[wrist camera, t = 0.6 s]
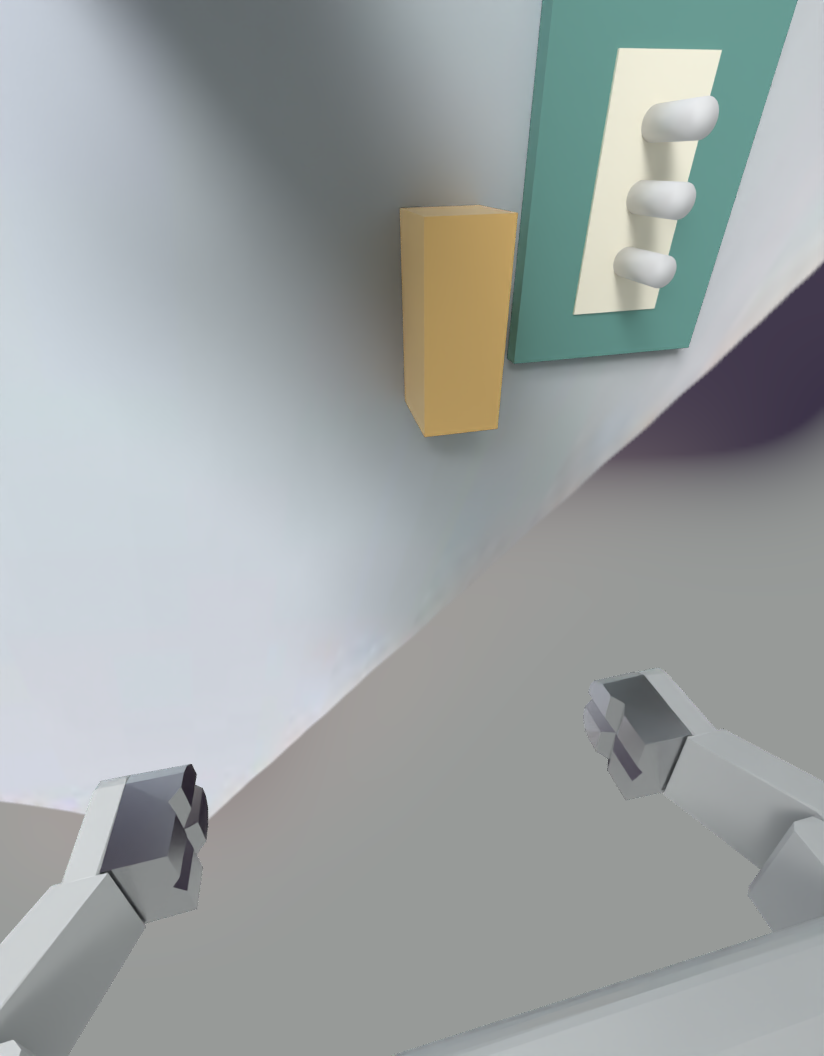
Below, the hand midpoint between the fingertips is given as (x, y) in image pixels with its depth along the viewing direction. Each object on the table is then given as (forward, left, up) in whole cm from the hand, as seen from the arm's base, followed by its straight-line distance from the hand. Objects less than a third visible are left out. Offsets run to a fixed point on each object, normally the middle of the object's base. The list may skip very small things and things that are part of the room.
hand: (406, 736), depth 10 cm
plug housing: (0, +10, -33) cm, 35 cm away
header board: (-7, +24, -33) cm, 41 cm away
